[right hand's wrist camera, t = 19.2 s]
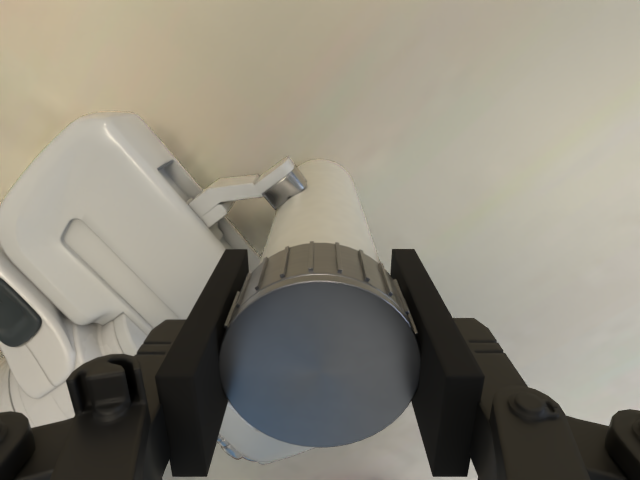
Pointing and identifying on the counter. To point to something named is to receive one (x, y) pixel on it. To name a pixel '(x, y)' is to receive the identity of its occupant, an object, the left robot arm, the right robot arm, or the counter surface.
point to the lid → (319, 347)
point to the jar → (321, 213)
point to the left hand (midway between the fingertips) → (334, 218)
